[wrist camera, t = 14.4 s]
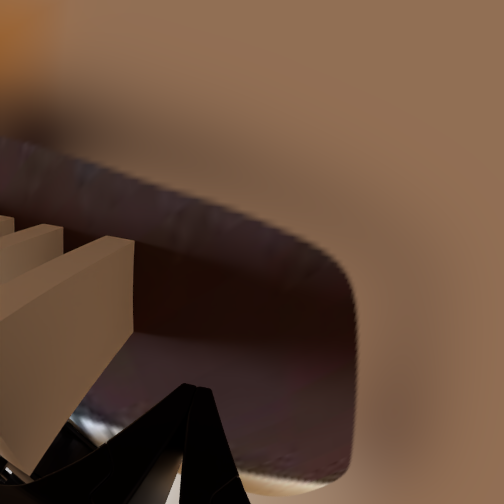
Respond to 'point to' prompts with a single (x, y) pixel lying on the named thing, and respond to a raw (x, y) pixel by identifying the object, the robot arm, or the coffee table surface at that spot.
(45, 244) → the domino
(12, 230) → the domino
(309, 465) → the coffee table surface
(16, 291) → the domino
